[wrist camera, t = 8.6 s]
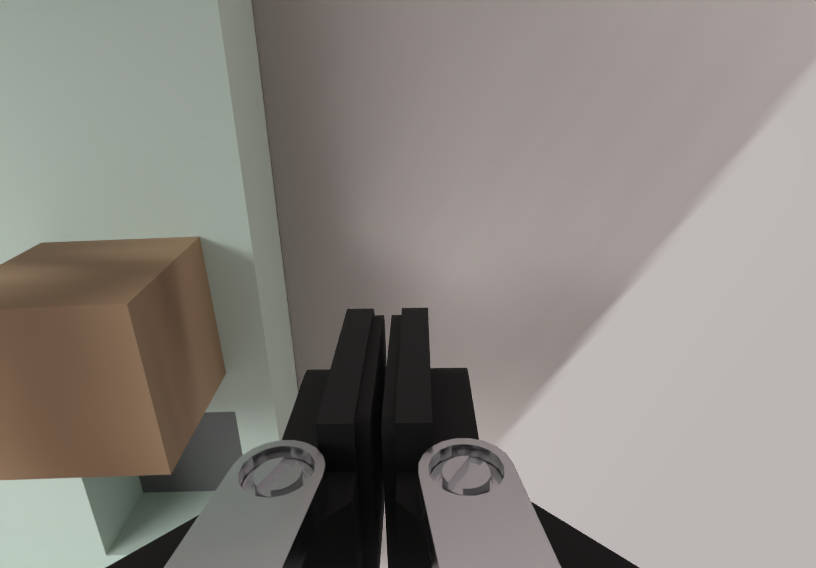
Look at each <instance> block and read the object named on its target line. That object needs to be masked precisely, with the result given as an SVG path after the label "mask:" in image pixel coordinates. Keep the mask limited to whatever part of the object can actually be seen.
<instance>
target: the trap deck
mask: <svg viewBox="0 0 816 568" xmlns="http://www.w3.org/2000/svg"><path fill="white" fill-rule="evenodd" d="M199 236H200V241H201V246H202V251H203V256H204V261H205V266H206V272H207V277H208V282H209V287H210V292H211V298H212V303H213V308H214V313H215V318H216V324H217V329H218V334H219V339H220V344H221V350H222V355H223V360H224V365H225V370H226V375H225V376H224V378H223V380H222V382H221V384H220V386H219V387H218V389H217V391H216V393H215V395H214V397H213V398H212V400H211V402H210V404H209V406H208V408H207V409H206V411H205V413H204V415H203V417H202V419H201V420H200V422H199V424H198V426H197V428H196V430H195V431H194V433H193V435H192V437H191V439H190V441H189V442H188V444H187V446H186V448H185V450H184V452H183V453H182V455H181V457H180V459H179V461H178V463H177V464H176V466H175V468H174V470H173V472H172V474H171V475H143V476H114V477H85V478H56V479H27V480H0V568H106V567H107V566H109V565H111V564H113V563H114V562H116V561H118V560H120V559H122V558H123V557H125V556H127V555H129V554H130V553H132V552H134V551H136V550H137V549H139V548H141V547H143V546H145V545H146V544H148V543H150V542H152V541H153V540H155V539H157V538H159V537H161V536H162V535H164V534H166V533H168V532H169V531H171V530H173V529H175V528H176V527H178V526H180V525H182V524H184V523H185V522H187V521H189V520H191V519H192V518H194V517H196V516H198V515H199V514H200V513H201V511H202V510H203V508H204V507H205V505H206V504H207V503H208V501H209V500H210V498H211V497H212V495H213V494H214V492H215V491H216V489H217V488H218V486H219V485H220V483H221V482H222V480H223V479H224V477H225V476H226V474H227V473H228V471H229V470H230V468H231V467H232V465H233V464H234V463H235V462H236V461H237V460H238V459H239V458H240V457H241V456H242V455H244V454H245V453H247V452H248V451H250V450H251V449H253V448H255V447H258V446H260V445H263V444H265V443H269V442H274V441H279V440H282V438H283V435H284V432H285V429H286V426H287V423H288V421H289V418H290V415H291V412H292V409H293V406H294V404H295V401H296V398H297V395H298V386H297V378H296V370H295V361H294V353H293V344H292V336H291V328H290V319H289V311H288V303H287V294H286V286H285V277H284V269H283V261H282V252H281V244H280V236H279V227H278V219H277V210H276V202H275V194H274V185H273V177H272V169H271V160H270V152H269V143H268V135H267V127H266V118H265V110H264V102H263V93H262V85H261V76H260V68H259V60H258V51H257V43H256V34H255V26H254V18H253V9H252V1H251V0H0V265H1V264H2V263H4V262H6V261H8V260H10V259H12V258H14V257H15V256H17V255H19V254H21V253H23V252H25V251H26V250H28V249H30V248H32V247H34V246H36V245H38V244H39V243H43V242H69V241H95V240H121V239H147V238H173V237H199Z"/></svg>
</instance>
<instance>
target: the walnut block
mask: <svg viewBox="0 0 816 568" xmlns="http://www.w3.org/2000/svg"><path fill="white" fill-rule="evenodd" d="M225 375H226V370H225V365H224V360H223V355H222V350H221V344H220V339H219V334H218V329H217V324H216V318H215V313H214V308H213V303H212V298H211V292H210V287H209V282H208V277H207V272H206V266H205V261H204V256H203V251H202V246H201V241H200V236H199V237H173V238H147V239H121V240H95V241H69V242H43V243H39V244H38V245H36V246H34V247H32V248H30V249H28V250H26V251H25V252H23V253H21V254H19V255H17V256H15V257H14V258H12V259H10V260H8V261H6V262H4V263H2V264H1V265H0V480H27V479H56V478H85V477H114V476H143V475H171V474H172V472H173V470H174V468H175V466H176V464H177V463H178V461H179V459H180V457H181V455H182V453H183V452H184V450H185V448H186V446H187V444H188V442H189V441H190V439H191V437H192V435H193V433H194V431H195V430H196V428H197V426H198V424H199V422H200V420H201V419H202V417H203V415H204V413H205V411H206V409H207V408H208V406H209V404H210V402H211V400H212V398H213V397H214V395H215V393H216V391H217V389H218V387H219V386H220V384H221V382H222V380H223V378H224V376H225Z"/></svg>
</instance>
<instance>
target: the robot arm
mask: <svg viewBox="0 0 816 568" xmlns="http://www.w3.org/2000/svg"><path fill="white" fill-rule="evenodd" d="M384 501H385V516H386V535H387V555H388V568H639V567H637V566H636V565H634V564H632V563H631V562H629V561H627V560H626V559H624V558H623V557H621V556H619V555H618V554H616V553H614V552H613V551H611V550H609V549H608V548H606V547H604V546H603V545H601V544H600V543H598V542H596V541H595V540H593V539H591V538H589V537H588V536H586V535H585V534H583V533H582V532H580V531H578V530H577V529H575V528H573V527H571V526H570V525H568V524H567V523H565V522H564V521H562V520H560V519H558V518H557V517H555V516H554V515H552V514H550V513H548V512H547V511H545V510H544V509H542V508H540V507H539V506H537V505H536V504H534V503H532V502H531V501H530V499H529V497H528V495H527V492H526V490H525V488H524V486H523V484H522V482H521V480H520V478H519V475H518V473H517V471H516V469H515V466H514V464H513V463H512V461H511V460H510V459H509V457H508V455H507V454H506V453H505V452H503V451H502V450H501V449H499V448H498V447H497V446H495V445H492V444H490V443H487V442H485V441H481V440H479V437H478V431H477V425H476V419H475V412H474V406H473V400H472V394H471V388H470V381H469V375H468V370H467V368H430V349H429V325H428V308H402V315H392V318H391V328H390V338H389V349H388V359H387V366H386V343H385V322H384V315H375V314H374V309H347V312H346V315H345V319H344V323H343V326H342V330H341V333H340V337H339V340H338V344H337V348H336V351H335V355H334V358H333V362H332V366H331V369H330V370H307V371H306V373H305V375H304V378H303V381H302V384H301V387H300V390H299V392H298V395H297V398H296V401H295V404H294V406H293V409H292V412H291V415H290V418H289V421H288V423H287V426H286V429H285V432H284V435H283V438H282V440H279V441H274V442H269V443H265V444H263V445H260V446H258V447H255V448H253V449H251V450H250V451H248V452H247V453H245V454H244V455H242V456H241V457H240V458H239V459H238V460H237V461H236V462H235V463H234V464H233V465H232V467H231V468H230V470H229V471H228V473H227V474H226V476H225V477H224V479H223V480H222V482H221V483H220V485H219V486H218V488H217V489H216V491H215V492H214V494H213V495H212V497H211V498H210V500H209V501H208V503H207V504H206V505H205V507H204V508H203V510H202V511H201V513H200V514H199V515H198V516H196V517H194V518H192V519H191V520H189V521H187V522H185V523H184V524H182V525H180V526H178V527H176V528H175V529H173V530H171V531H169V532H168V533H166V534H164V535H162V536H161V537H159V538H157V539H155V540H153V541H152V542H150V543H148V544H146V545H145V546H143V547H141V548H139V549H137V550H136V551H134V552H132V553H130V554H129V555H127V556H125V557H123V558H122V559H120V560H118V561H116V562H114V563H113V564H111V565H109V566H107V567H106V568H380V555H381V542H382V528H383V514H384Z"/></svg>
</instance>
